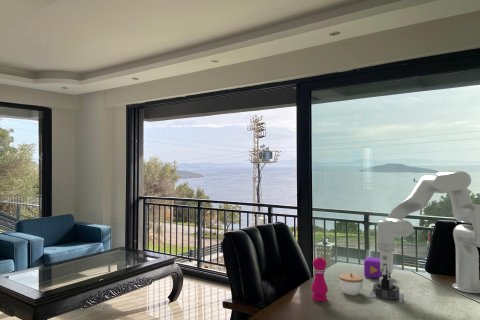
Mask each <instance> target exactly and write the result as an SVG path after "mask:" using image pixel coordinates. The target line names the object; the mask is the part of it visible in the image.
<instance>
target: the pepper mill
mask: <svg viewBox="0 0 480 320" xmlns="http://www.w3.org/2000/svg"><path fill="white" fill-rule="evenodd" d="M312 266H313V267H314V268H313V272H314V280H313V282H312V284H311V288H310V289H311V292H312V300H313V301H315V302H320V301H321V302H326V301H327V294H328V291H329V289H328V285H327V283H326V281H325V273H326V267H327V261H326V259H325V258H323V257H322V254H318V255H317V257H315V258H314V259H313V260H312Z"/></svg>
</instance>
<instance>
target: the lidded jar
mask: <svg viewBox="0 0 480 320" xmlns="http://www.w3.org/2000/svg"><path fill="white" fill-rule="evenodd" d="M339 285H340V288H341V291H343V292H344V294H345V295H348V296H358V295H359V294H360V292H361V291H362V290H363V285H364V277H362V275H359V274H356V273H353V272H350V273H341V274H339Z"/></svg>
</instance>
